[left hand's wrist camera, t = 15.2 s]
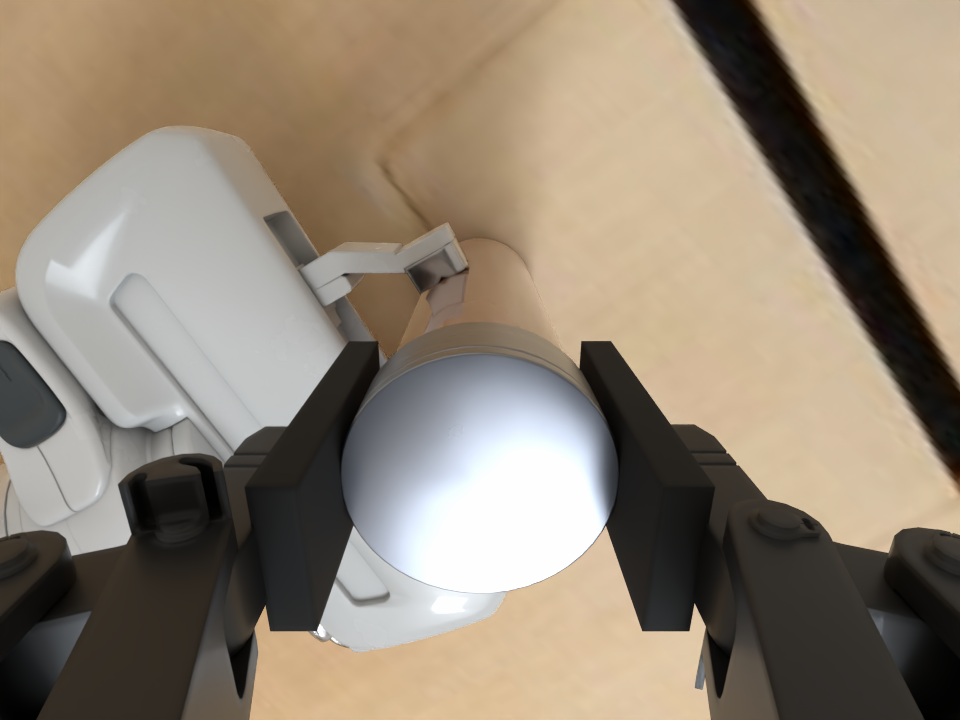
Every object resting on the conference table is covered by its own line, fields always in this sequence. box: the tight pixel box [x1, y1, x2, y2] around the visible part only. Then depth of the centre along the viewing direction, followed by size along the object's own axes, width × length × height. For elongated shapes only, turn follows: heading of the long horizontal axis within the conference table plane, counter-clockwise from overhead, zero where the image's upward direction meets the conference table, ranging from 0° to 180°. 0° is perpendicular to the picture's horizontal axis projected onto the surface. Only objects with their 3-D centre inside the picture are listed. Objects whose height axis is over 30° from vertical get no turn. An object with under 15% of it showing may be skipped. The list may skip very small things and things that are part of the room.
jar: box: [396, 238, 563, 352], centre depth 18 cm, size 5×5×15 cm
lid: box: [340, 322, 620, 593], centre depth 11 cm, size 5×5×2 cm
